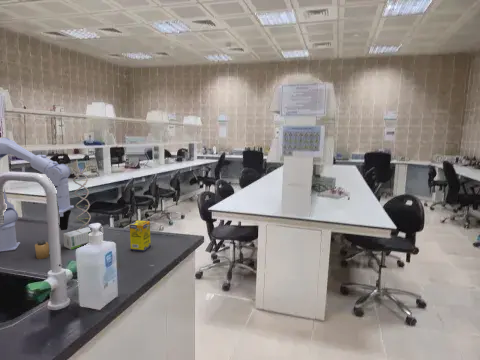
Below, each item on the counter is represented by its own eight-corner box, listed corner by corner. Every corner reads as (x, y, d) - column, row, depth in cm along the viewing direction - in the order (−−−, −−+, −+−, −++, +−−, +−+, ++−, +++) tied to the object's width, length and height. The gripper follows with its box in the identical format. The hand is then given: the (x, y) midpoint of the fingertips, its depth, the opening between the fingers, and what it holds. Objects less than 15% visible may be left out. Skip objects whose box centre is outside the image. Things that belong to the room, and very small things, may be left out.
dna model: (75, 233, 143) (69, 168, 138) (78, 229, 149) (73, 166, 144) (91, 232, 145) (86, 168, 139) (93, 228, 151) (89, 166, 146)
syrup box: (69, 236, 123) (104, 227, 135) (62, 233, 127) (96, 224, 138) (70, 250, 124) (104, 239, 136) (63, 246, 128) (97, 236, 139)
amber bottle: (35, 259, 116) (33, 244, 114) (37, 255, 119) (35, 240, 118) (48, 257, 117) (47, 242, 116) (50, 253, 121) (49, 238, 120)
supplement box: (144, 252, 123) (142, 225, 121) (130, 250, 124) (128, 224, 122) (151, 246, 129) (150, 221, 127) (138, 245, 130) (136, 219, 128)
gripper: (70, 199, 116) (74, 234, 118) (74, 191, 129) (77, 223, 131) (48, 200, 113) (52, 236, 116) (54, 192, 126) (57, 225, 129)
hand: (64, 229), depth 123 cm, fingers closed
